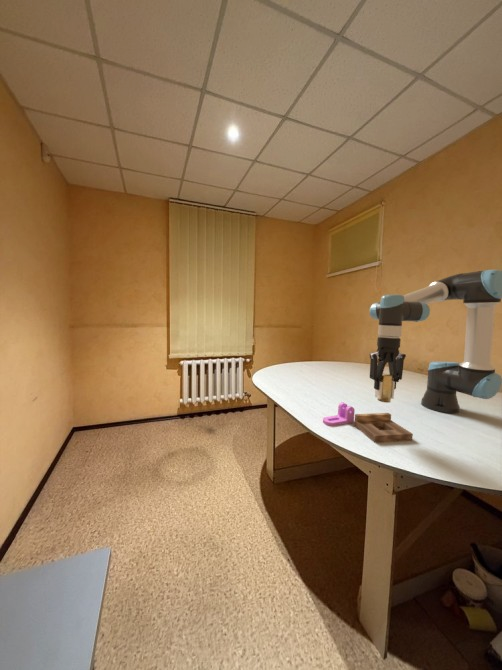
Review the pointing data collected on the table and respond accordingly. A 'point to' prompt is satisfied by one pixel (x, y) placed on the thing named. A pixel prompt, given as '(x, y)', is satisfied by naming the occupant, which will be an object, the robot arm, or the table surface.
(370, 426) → the frame
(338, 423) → the bracket
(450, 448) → the table surface
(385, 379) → the cylinder
